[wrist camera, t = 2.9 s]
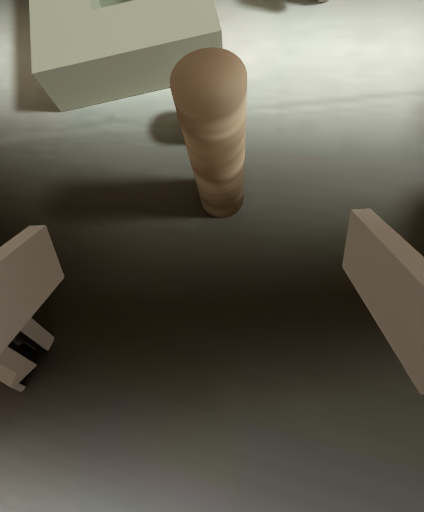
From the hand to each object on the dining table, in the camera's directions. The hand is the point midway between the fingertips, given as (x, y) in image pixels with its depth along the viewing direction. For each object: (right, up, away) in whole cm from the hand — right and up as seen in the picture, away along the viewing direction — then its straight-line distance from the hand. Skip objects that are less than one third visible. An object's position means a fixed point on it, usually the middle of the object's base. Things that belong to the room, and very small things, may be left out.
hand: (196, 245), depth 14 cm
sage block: (-9, +25, +22) cm, 35 cm away
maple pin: (+2, +5, +16) cm, 17 cm away
